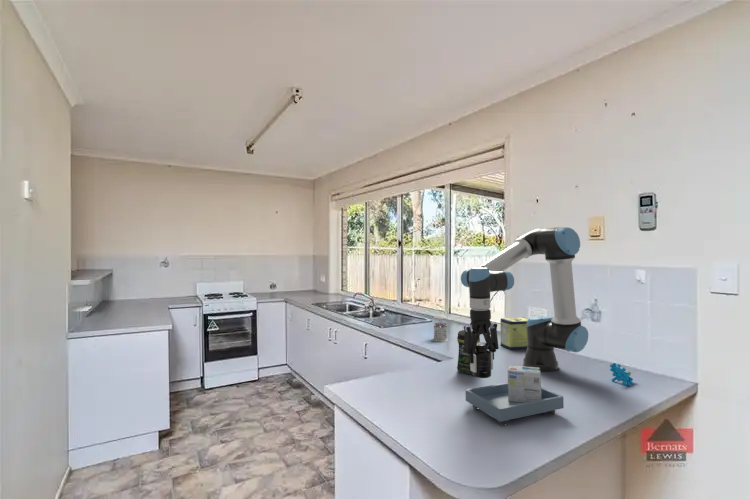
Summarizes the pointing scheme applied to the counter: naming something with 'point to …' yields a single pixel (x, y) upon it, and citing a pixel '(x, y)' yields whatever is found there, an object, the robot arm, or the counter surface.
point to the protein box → (514, 333)
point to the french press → (440, 329)
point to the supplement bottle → (482, 360)
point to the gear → (621, 374)
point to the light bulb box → (524, 384)
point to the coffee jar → (463, 355)
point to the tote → (511, 402)
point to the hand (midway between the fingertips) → (481, 369)
